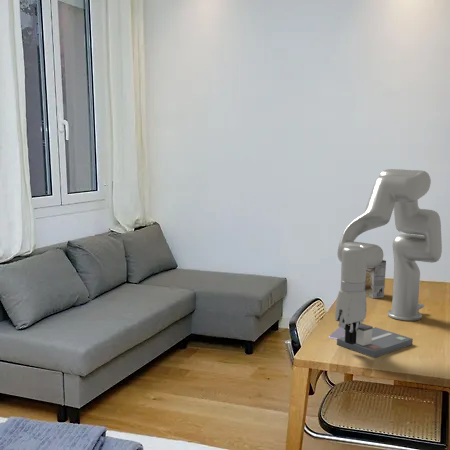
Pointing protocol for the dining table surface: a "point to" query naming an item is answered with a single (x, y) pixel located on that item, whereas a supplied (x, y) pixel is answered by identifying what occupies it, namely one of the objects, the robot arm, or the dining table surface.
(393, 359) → the dining table surface
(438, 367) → the dining table surface
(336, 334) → the mobile phone
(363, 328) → the slider knob
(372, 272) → the coffee box
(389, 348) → the switch panel
